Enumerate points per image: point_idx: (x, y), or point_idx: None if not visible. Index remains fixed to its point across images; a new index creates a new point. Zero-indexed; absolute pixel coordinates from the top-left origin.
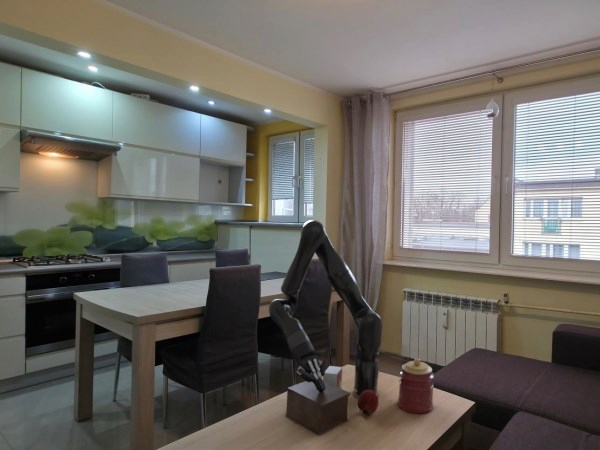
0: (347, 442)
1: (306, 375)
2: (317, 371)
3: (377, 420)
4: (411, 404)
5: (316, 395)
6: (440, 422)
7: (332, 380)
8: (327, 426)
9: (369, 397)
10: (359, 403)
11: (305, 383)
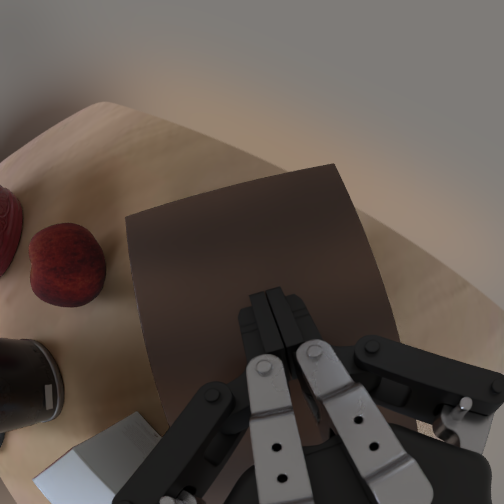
0: (250, 158)
1: (431, 354)
2: (291, 407)
3: (97, 217)
4: (9, 201)
5: (324, 279)
6: (27, 153)
7: (109, 456)
8: None
9: (61, 229)
10: (97, 262)
11: None
